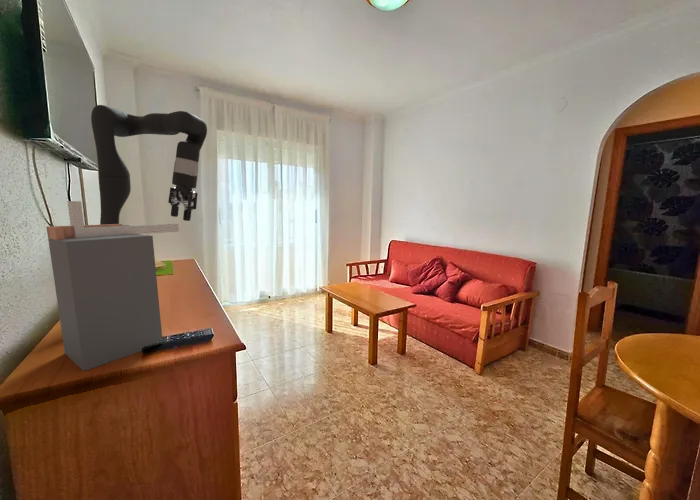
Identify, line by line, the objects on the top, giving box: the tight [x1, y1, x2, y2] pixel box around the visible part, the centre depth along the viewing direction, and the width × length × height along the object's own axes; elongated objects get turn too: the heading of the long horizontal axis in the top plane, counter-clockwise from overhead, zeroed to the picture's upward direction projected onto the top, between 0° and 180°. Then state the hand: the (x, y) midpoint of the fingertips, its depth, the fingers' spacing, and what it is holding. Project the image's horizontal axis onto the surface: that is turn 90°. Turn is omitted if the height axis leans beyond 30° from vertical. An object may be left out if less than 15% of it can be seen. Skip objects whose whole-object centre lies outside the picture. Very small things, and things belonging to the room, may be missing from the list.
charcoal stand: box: [46, 223, 163, 372], centre depth 82 cm, size 16×18×35 cm
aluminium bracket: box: [66, 200, 180, 238], centre depth 88 cm, size 3×26×10 cm, turn 146°
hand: (180, 218), depth 106 cm, fingers open, 8 cm apart
